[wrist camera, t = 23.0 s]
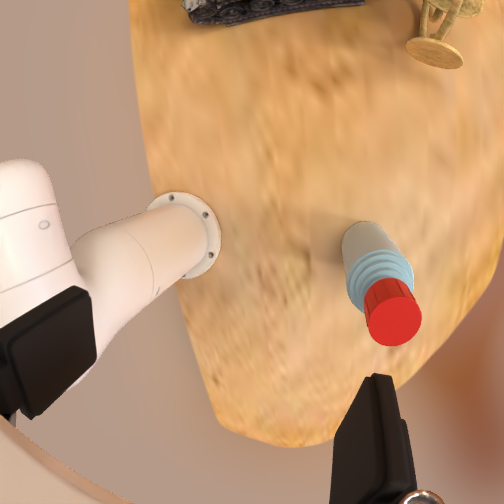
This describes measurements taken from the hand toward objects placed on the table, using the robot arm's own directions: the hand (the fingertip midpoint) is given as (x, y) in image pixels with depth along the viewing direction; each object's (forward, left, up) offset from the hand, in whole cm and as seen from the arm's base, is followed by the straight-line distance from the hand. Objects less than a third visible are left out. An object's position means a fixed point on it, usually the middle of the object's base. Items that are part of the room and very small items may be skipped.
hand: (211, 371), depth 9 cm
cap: (+5, -8, -16) cm, 18 cm away
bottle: (+5, -8, -32) cm, 33 cm away
